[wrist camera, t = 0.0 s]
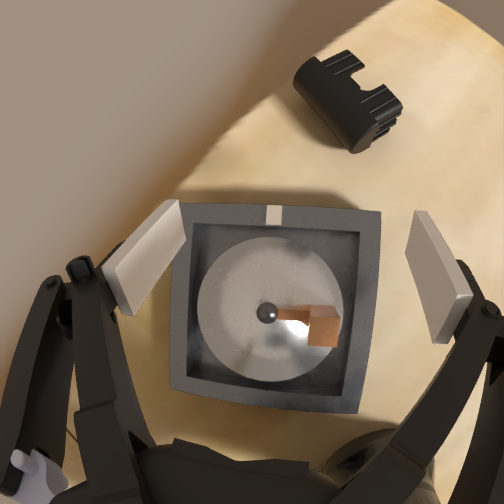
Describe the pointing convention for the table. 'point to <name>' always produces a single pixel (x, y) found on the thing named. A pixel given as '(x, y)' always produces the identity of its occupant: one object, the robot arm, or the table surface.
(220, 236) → the housing
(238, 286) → the dial
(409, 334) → the table surface
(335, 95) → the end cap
